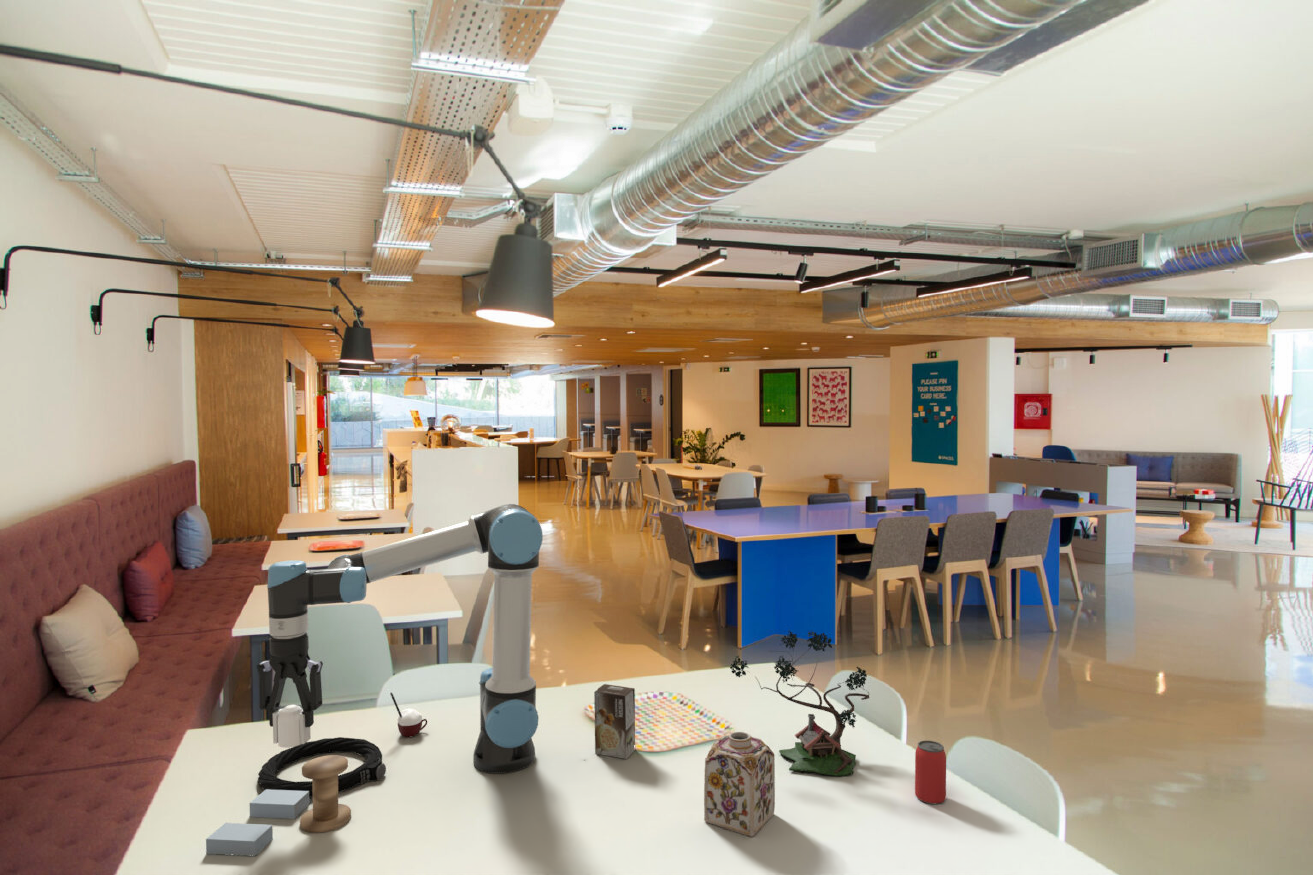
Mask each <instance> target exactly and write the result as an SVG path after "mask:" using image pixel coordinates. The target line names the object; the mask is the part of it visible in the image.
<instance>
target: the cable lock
mask: <svg viewBox="0 0 1313 875" xmlns="http://www.w3.org/2000/svg"><path fill="white" fill-rule="evenodd" d="M338 752H339V753H353V754H357V755H359V754H360V756H363V757H366V759H367V760H365V762H363V763H362V764H361V765H359V766H358V767H356V768H355V769H353V770H351V771H348V772H345V773H343V774H342V773H341V774H338V793H340V792H343V791H346V790H349V789H351V788H353V787H355V786H357V785H363V784H366V783H369V781H370V782H376V781H377V780H378V781H380V780H382V779H384V777H385V775H386V771H387V770H386V764H385V763H383V753H382V751H381V749H380V748H379V747H378V746H377V745H376V744H375V743H372V742H370V741H368V740H366V739H365V738H364V739H363V738H354V737H341V736H340V737H338V736H337V737H333V738H332V737H331V738H330V737H329V738H327V737H326V738H321V739H317V740H313V741H307V742H306V743H305V744H300V745H298V746H295V747H289V748H287V749H284V750H282V751H280V752H279V753H276V754H275V755H272V757H270V758H269V759H268V760H267V761H266V762H265V763H264V764H263V765H262V766H261V769H260V770H259V772H258V774H257V775H258V777H257V782H258V783H259V786H260V788H261V789H263V791H265V790H266V789H269V790H293V791H309V798H313V785H312V780H311V781H303V780H302V781H292V780H286V779H281V778H279V777H277V775H276V774H277V773H278V771H280V770H282V769H283V768H285V767H286V766H287V765H290V764H292V763H294V762H297V761H298V760H300V759H304V758H308V756H309V757H312V756H316V755H321V754H330V753H338Z"/></svg>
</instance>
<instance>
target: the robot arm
mask: <svg viewBox="0 0 1313 875" xmlns="http://www.w3.org/2000/svg"><path fill="white" fill-rule="evenodd" d="M543 539H544V538H543V529H542V526H541V524H540V522H539V520H538V519H537V518H536V516H535V515H534V514H532V513H531V512H530V511H528V510H527V509H526V508H525V507H524V506H521V505H518V504H515V503H509V504H502V505H500V506H497V507H495V508H492V509H489V510H485V511H483V512H479V513H477V514H473V515H471V516H470V517H469V518H468V521H464V522H460V523H458V524H454V525H452V526H448V527H447V526H446V527H444V528H440V529H437V530H432V531H430V532H429V531H428V532H427V533H423V534H419V535H415V536H412V537H409V538H406V539H402V540H398V541H394V542H392V543H388V544H385V545H382V546H378V547H374V548H371V549H368V550H365V551H361V552H357V553H353V554H343V555H339V556H338V557H335V558H334V559H333V560H331V561H330V563H329V564H328V566H327V568H323V569H322V568H321V569H308V567H307V563H306V561H303V560H284V561H279V562H274V563H272V564H271V565H270V566H269V567H268V572H267V574H268V577H267V585H266V586H267V600H268V601H267V603H268V625H269V626H268V627H269V632H268V633H269V635H270V638H269V653H270V658H269V660H264V661H262V662H260V663H259V664H256V669H257V672H258V675H259V682H258V683H259V685H258V686H259V692H258V693H259V695H258V696H259V709H260V710H266V711H267V712H268V718H269V719H268V720H269V721H268V723H269V726H270V728H271V727H272V737H273V738H272V739H273V740H272V741H273V742H272V743H273V744H278V715H279V713H280V712H281V710H282V709H283V708H281V707H282V705H281V701H282V697H283V692H284V689H285V684H286V680H287V679H291V680H292V682H293V684H294V685H295V688H296V691H297V694H298V697H299V698H298V699H299V701H300V704H301V708H302V709H303V712H302V713H300V739H301V744H305V743H306V742H309V740H311V739H312V738H311V727H312V726H314V723H315V721H314V719H315V718H314V711H316V710H318V709H319V708H320V707H321V706H323V692H322V691H323V689H322V687H323V686H322V675H321V674H322V673H321V672H322V668H323V665H324V663H323V661H322V660H319V661H315V660H311V656H310V655H309V648H310V646H309V645H310V643H309V633H308V630H309V618H308V615H309V614H308V610H309V609H308V606H315V605H329V604H332V605H333V604H344V603H346V604H350V603H353V602H361V601H363V600H365V598H366V596H367V584H370V583H373V582H377V581H381V580H384V579H387V578H390V577H393V576H398V575H400V574H403V573H407V572H410V571H414V570H417V569H421V568H423V567H427V566H430V565H434V564H437V563H441V562H443V561H448V560H451V559H454V558H459V557H461V556H465V555H467V554H471V553H474V552H477V553H479V554H486V553H487V568H488V569H489V570H490V571H491V572H492V573H493V576H494V577H493V578H494V579H493V580H494V582H493V583H494V584H493V621H492V622H493V623H492V624H493V625H492V626H493V628H492V665H491V666H492V667H490V668H487V669H485V670H483V671H481V673H480V678H479V691H480V694H479V695H480V696H479V697H480V698H479V700H480V701H479V702H480V703H479V704H480V705H479V709H480V712H479V713H480V715H479V716H480V723H479V724H480V725H479V726H480V728H479V729H480V731H479V735H478V738H477V741H476V744H475V748H474V751H473V755H472V756H473V757H472V758H473V760H472V761H473V766H474V767H475V768H476V770H477V769H478V770H480V771H482V772H484V773H491V774H506V773H512V772H513V773H514V772H517V771H520V770H523V769H525V768H527V767H529V766H530V765H531V764H532V763H533V762H534V761H535V760H536V759H535V758H536V748H535V745H534V741H533V737H534V735H535V734H536V731H537V729H538V726H539V714H538V713H539V712H538V710H537V706H536V702H537V697H536V696H537V681H536V680H535V679H534V678H533V676H531V671H530V670H531V629H532V628H531V627H532V593H533V590H532V588H533V586H532V585H533V573H534V572H535V571H536V570H537V569H538V568H539V567H540V550H541V547H542V544H543ZM307 668H308V673H309V684H308V679H307V678H308V674H307V671H306V669H307ZM272 670H273V672H275V673H274V677H273V686H272Z"/></svg>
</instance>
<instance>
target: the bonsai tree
mask: <svg viewBox="0 0 1313 875" xmlns="http://www.w3.org/2000/svg"><path fill="white" fill-rule="evenodd" d="M807 634H808V635H807V637H808V638H807V639H806V642H807V643H808V642H809V644H808V645H807V647H808V650H810V649H811V648H813V650H815V651H816V652H820V651H821V650H822V652H826V650H825V649H826V647H829V648H830V649H833V645H832V644H831V643H832V638H830V637H828V635H827V634H825V632H822V633H820V634H817V632H815V631H811V630H809V631H808V632H807ZM810 636H811V637H810ZM780 641H781V642H782V643H780V644H779V646H781V645H783V644H785V648H789V650H791V649H792V651H794V648H795V647H796V644H797V642H798V634H797V633H795V634H794V633H793V632H792V631H790V630H788V633H787V635H783V637H781V640H780ZM810 642H811V643H810ZM808 650H806V651H805V652H804V653H803V654H802V655H801V656H800V658H802V657H803V656H804V655H805V654H806V653H807V652H808ZM769 652H773V653H774V652H775V653H776V652H778V651H777V650H776V651H775V650H774V651H772V650H769ZM780 652H785V653H786V651H784V650H783V651H782V650H780ZM788 654H790V656H791V660H789V659H788V660H786V659H785V658H784V655H780V656H779V658H778V660H777V661H776V663H775V666H774V667H773V668H774V669H775V673H776V674H779V678H778V680H777V682H776V685H775V687H776V690H775V689H772V688H771V687H766V686H765V687H762V686H761V684H760V681H759V680H758V678H757V677H755V679H756V680H757V682H758V685H759V687H760V689H761V690H763V689H767V690H769V691H772V692H775V693H778V694H779V695H780V696H781V697H783V698H784V699H785V700H787V701H789V702H792V703H794V704H798V705H800V706H804V707H807V708H812V709H815V710H819V711H824V712H828V713H830V714H832V715H833V716H834V718H835V725H836V726H835V730H834V731H833V733H830V732H829V731H827V730H826V729H824V728H822V727H821V726H820V725H818V724H817V723H816V721H815V719H816V716H815V714H814V713H808V714H807V717H808V722H807V723H808V724H807V725H806V726H804V728H803V729H801V730H800V731H798V732H797V733H796V734H794V737H795V738H796V739H797V740H800V742H799V741H797V742H796V741H795V742H794V747H792V748H786V749H785V748H784V749H779V750H778V752H779V754H780V755H781V756H783V757H786V758H788V759H790V760H791V761H794V763H792V764H791V766H790V767H789V769H788V771H789V772H790V771H792V772H811V773H814V772H815V773H817V774H821V775H827V776H834V777H843V776H850V775H853V774H854V770H853V768H854V767H855V766H856V759H857V758H856V756H857V755H856V754H854V753H852V752H850V751H848V750H845V749H842V745H841V738H842V736H843V732H844V730H845V728H846V726H847V725H849V726H851V727H852V729H855V728H856V726H855V724H856V722H857V718H856V716H857V715H856V714H855V713H854V711H855V704H854V703H853V702H852V701H851V700H850V698H849V697H856V696H857V697H861V698H860V699H861V701H863V700H867V699H870V692H869V691H868V690H866V689H865V688H864V687H865V686H864V685H866V681H867V677H868V674H867V673H866V672H867V670H865V669H862V668H861V667H859V666H856V669H858V670H857V671H852V673H850V675H849V676H848V678H846V680H844V681H843V682H839V683H838V684H837V686H836V687H833V688H830V689H828V690H826V691H825V692H824V693H823V695H822V696H823V699H822V696H821V694H820V693H819V691H818V690H817V689H815V688H814V687H815V684H814V683H811V681H812V679H813V678H814V675H815V672H816V669H817V665H818V662H819V660H817V661H816V665H815V669H814V672H813V673H812V676H811V678H810V679H809V681H808V682H806V683H805V685H802V684H801V685H800V684H791V683H790V684H789V683H787V682H788V680H790V679H792V680H794V679H793V677H795V675H796V674H797V672H799V670H797V669H796V668H795V666H794V664H795V663H796V662H797V661H798V660H799V658H798V659H796V660H795V661H793V660H794V659H793V656H792V655H791V653H790V652H788ZM819 658H820V656H818V659H819ZM729 668H730V670H731V674H734V675H735V677H737V678H741V677H743V676H747V672H748V673H749V671H748V670H744V669H745V668H747V669H749V666H748V660H746V659H744V660H741V658H740V655H737V656H735V659H734V660H733V661H732V663H731V664H730V667H729ZM799 673H800V672H799ZM792 676H793V677H792ZM781 679H782V680H781ZM780 681H782V683H783V684H784V683H786V685H788V686H789V687H792V688H794V687H798V688H799V687H801V688H802V687H804V688H803V689H801V690H800V691H798V692H797V693H796V694H794V695H792V696H790V697H789V696H787V695H785V694H784V693H782V692H781V691H780V690H779V683H780ZM845 683H846V684H845ZM840 684H845V686H847V687H848V690H849V691H856V689H858V688H860V689H862V690H863V691H866V693H868V694H865V693H858V692H855V693H854V692H852V693H850V692H849V693H847V694H844V699H845V701H846V702H847V703H848V704H849V705H850V707H851V708H849V709H844V710H842V711H841V713H839V711H838V710H836V709H835V707H834V706H833V704H832V703H831V702H830V701H829V700H828V699H827V694H829V693H831V692H833V691H835V690H838V689H841V688H842V685H840ZM854 686H855V687H854ZM806 688H808V689H810V690H812V692H814V693H815V694H816V696H817V698H818V700H819V704H814V703H809V702H805V701H801V700H797V699H794V698H795V697H797V696H799V695H800V694H802V693H803V691H805V690H806ZM823 700H824V702H825V704H826V705H827V706H826V705H822V704H823ZM846 723H847V725H846Z"/></svg>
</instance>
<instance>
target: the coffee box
mask: <svg viewBox="0 0 1313 875" xmlns="http://www.w3.org/2000/svg"><path fill="white" fill-rule="evenodd" d="M635 694H636V690H635V688H634V687H629V686H627V687H626V686H621V685H613V684H607V683H606V684H605V683H604V684H602V685H601V686H599V687H598V688H597V690H595V691H594V696H593V697H594V702H593V703H594V750H595V751H594V754H598V755H602V756H608V757H613V758H614V757H615V758H619V759H628V758H629V757H630V756H631V755H632V754H633V753H634V752H635V751H634V745H635V746H636V714H635V713H636V711H635V710H636V705H635V704H636V702H635V700H636V696H635Z"/></svg>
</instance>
